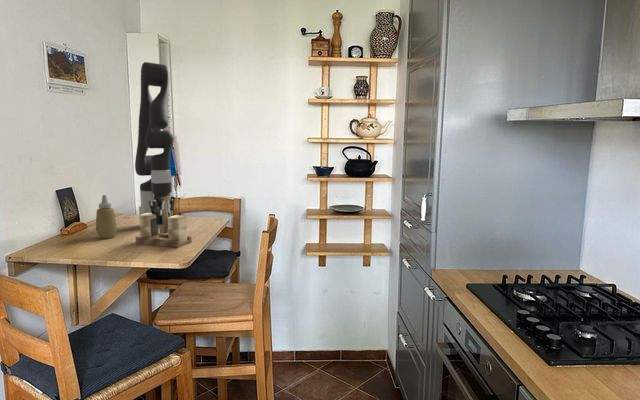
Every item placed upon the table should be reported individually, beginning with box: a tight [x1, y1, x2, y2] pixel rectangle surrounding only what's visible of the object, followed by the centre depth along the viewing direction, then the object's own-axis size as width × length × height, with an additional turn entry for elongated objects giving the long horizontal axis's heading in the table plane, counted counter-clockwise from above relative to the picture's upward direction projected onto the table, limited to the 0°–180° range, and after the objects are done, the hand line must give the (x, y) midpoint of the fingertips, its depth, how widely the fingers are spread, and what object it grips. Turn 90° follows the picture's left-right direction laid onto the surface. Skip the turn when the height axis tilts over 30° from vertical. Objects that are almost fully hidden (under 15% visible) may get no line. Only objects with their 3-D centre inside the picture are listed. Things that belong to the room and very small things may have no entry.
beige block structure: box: [134, 213, 192, 249], centre depth 177 cm, size 20×9×11 cm, turn 73°
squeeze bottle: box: [95, 194, 118, 239], centre depth 183 cm, size 8×8×18 cm
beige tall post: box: [158, 195, 172, 234], centre depth 176 cm, size 5×6×15 cm
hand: (163, 223), depth 176 cm, fingers closed on beige tall post, 4 cm apart
